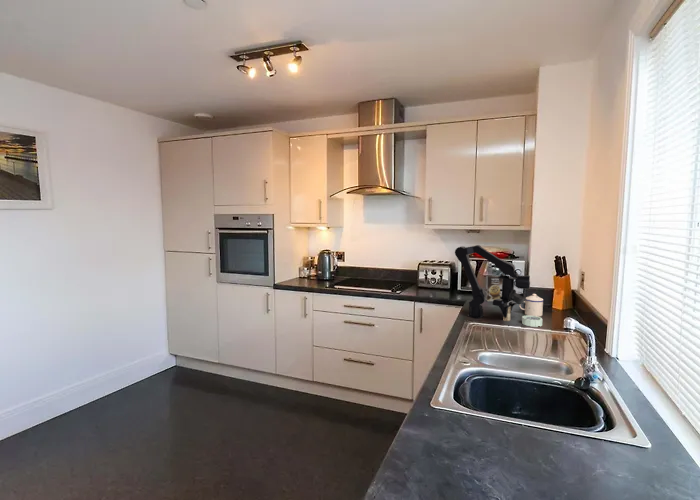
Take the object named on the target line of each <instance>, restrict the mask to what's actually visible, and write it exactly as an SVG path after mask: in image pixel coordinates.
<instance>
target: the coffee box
mask: <svg viewBox="0 0 700 500" xmlns="http://www.w3.org/2000/svg"><path fill="white" fill-rule="evenodd" d="M485 276H486V277H485V292H486V293H487V295H486V300H485V302H492V303H493V301H494V300H495V299H500V297H501V296H502V291H500V289H502V279H499V278H498V277H499V276H500V275H488V274H487V275H485Z"/></svg>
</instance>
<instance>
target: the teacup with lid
mask: <svg viewBox="0 0 700 500" xmlns="http://www.w3.org/2000/svg"><path fill="white" fill-rule="evenodd" d="M523 303H525V305H524V306H525V308H523V307H522V306H521V305H522V304H518V306H519V308H520V309H521V310H522V311H524V315H525V316H527V315H530V316H537V317H540V318H541V317H542V316H543V312H544V311H543V307H544V299H543V298H542V297H540V296H538V295H537V294H536V293H532V295H528V296H526V300H524V302H523Z"/></svg>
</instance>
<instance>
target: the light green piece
mask: <svg viewBox="0 0 700 500" xmlns="http://www.w3.org/2000/svg"><path fill="white" fill-rule="evenodd" d="M521 323H522V325H524V326H527V327H532V328H539V327H538V326H540V327H542V326H543V317H541V316H540V317H537V316H530V315H522V316H521Z"/></svg>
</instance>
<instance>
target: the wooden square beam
mask: <svg viewBox="0 0 700 500" xmlns="http://www.w3.org/2000/svg"><path fill="white" fill-rule="evenodd" d="M510 312H511V313H512V311H511V306H510V307H509V308H508V312H507V317H506V318H505V317H504V316H503V315H502V316H503V317H502V318H503V319H502V320H503V321H504V322H510V321H511V313H510Z"/></svg>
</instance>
